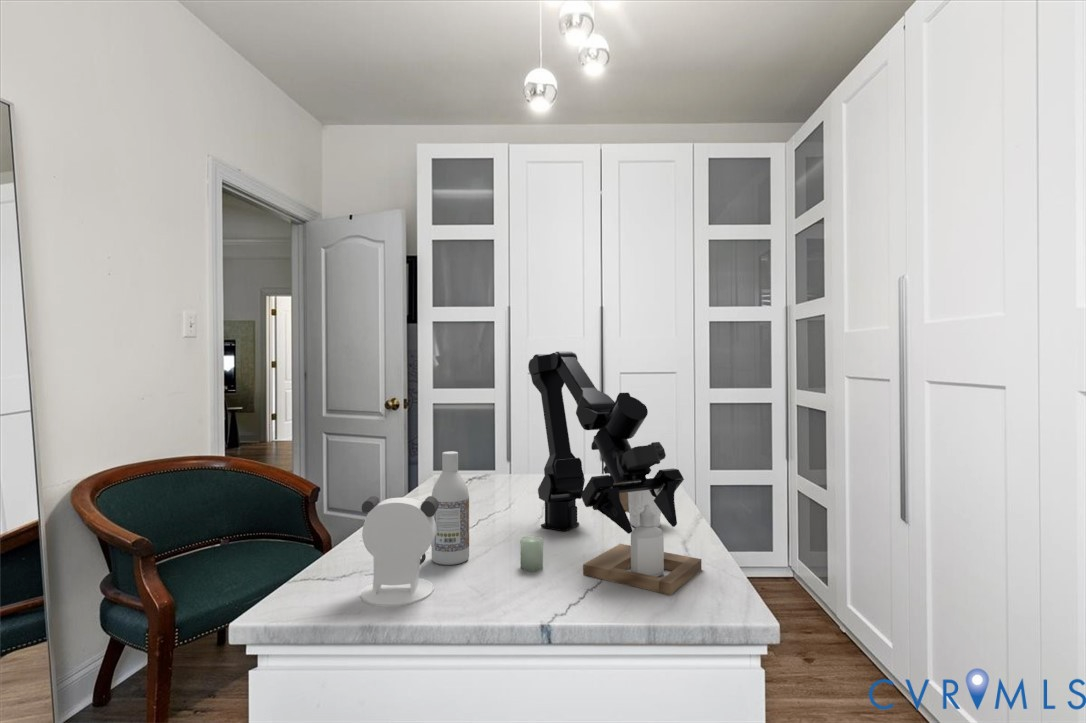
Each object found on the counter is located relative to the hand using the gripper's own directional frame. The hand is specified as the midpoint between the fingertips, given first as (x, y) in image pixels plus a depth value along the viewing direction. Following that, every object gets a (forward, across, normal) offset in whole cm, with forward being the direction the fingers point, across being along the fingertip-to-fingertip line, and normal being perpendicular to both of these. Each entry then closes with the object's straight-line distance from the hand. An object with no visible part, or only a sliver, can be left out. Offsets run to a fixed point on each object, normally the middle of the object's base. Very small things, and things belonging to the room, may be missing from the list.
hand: (653, 528), depth 101 cm
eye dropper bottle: (+5, 0, +7) cm, 9 cm away
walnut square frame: (+4, 0, +8) cm, 9 cm away
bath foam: (-11, -28, +23) cm, 38 cm away
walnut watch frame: (-27, +24, +39) cm, 53 cm away
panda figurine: (-3, -40, +15) cm, 43 cm away
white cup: (-14, +18, +26) cm, 34 cm away
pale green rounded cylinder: (-4, -16, +16) cm, 23 cm away
